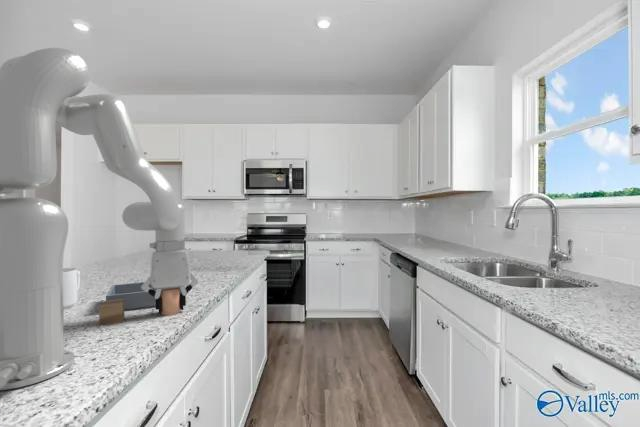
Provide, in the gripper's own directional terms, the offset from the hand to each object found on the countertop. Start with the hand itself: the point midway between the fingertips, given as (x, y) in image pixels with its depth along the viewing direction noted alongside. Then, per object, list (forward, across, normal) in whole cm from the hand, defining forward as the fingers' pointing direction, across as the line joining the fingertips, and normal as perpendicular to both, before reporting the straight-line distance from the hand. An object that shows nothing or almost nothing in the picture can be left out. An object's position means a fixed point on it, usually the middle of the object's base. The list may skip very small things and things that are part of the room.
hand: (170, 309), depth 89 cm
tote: (+1, -6, +15) cm, 16 cm away
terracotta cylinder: (+1, 0, 0) cm, 1 cm away
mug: (+1, -29, +23) cm, 37 cm away
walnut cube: (+1, -14, 0) cm, 14 cm away
